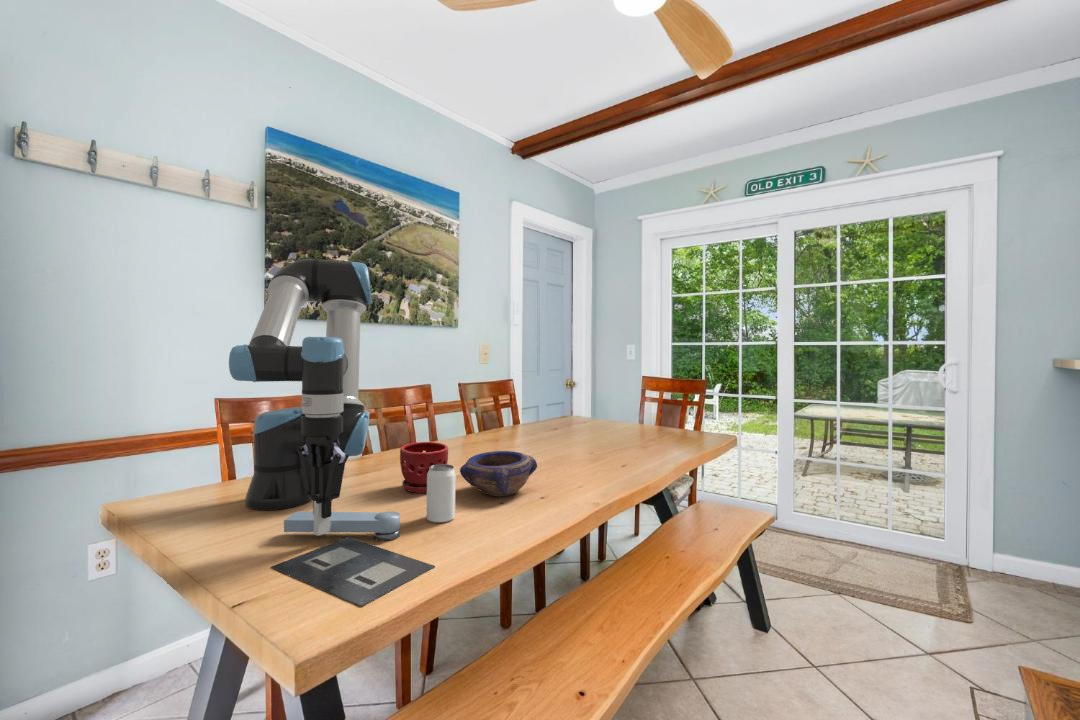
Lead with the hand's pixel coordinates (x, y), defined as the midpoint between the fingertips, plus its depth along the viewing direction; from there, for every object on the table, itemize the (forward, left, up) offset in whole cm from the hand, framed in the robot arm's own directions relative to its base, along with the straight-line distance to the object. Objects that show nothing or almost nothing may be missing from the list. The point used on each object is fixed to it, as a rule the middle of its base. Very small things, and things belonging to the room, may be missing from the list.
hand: (322, 532), depth 96 cm
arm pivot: (+8, +10, -2) cm, 13 cm away
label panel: (+14, -3, -2) cm, 14 cm away
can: (+10, +24, -3) cm, 26 cm away
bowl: (+9, +48, -3) cm, 49 cm away
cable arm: (0, +5, -1) cm, 5 cm away
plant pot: (-10, +39, -3) cm, 40 cm away
